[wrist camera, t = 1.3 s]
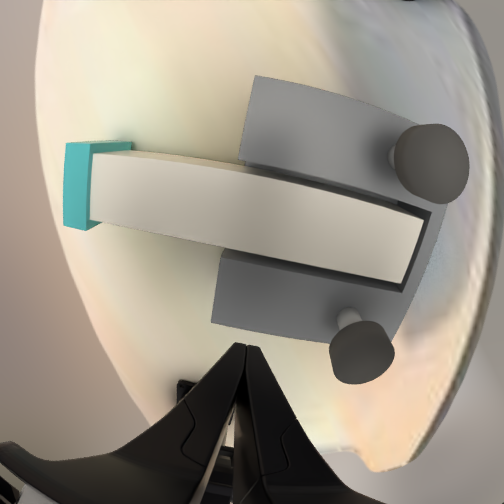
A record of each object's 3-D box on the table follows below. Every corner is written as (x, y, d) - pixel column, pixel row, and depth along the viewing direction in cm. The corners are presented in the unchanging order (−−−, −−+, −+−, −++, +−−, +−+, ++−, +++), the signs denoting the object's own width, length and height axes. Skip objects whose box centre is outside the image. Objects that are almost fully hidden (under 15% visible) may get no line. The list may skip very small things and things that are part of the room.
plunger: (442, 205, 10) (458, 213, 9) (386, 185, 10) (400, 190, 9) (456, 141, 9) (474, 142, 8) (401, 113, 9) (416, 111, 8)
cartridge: (373, 261, 19) (399, 295, 14) (104, 206, 19) (63, 225, 14) (393, 194, 17) (430, 211, 13) (109, 140, 17) (66, 142, 12)
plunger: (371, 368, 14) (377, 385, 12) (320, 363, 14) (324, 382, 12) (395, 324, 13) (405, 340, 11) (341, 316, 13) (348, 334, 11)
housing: (366, 308, 22) (393, 363, 15) (224, 281, 22) (205, 337, 15) (418, 143, 16) (476, 147, 10) (259, 95, 16) (253, 66, 10)
